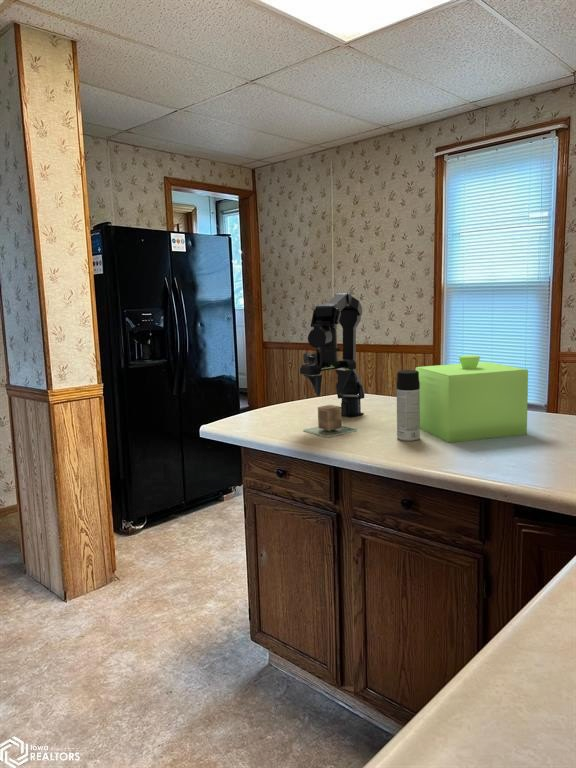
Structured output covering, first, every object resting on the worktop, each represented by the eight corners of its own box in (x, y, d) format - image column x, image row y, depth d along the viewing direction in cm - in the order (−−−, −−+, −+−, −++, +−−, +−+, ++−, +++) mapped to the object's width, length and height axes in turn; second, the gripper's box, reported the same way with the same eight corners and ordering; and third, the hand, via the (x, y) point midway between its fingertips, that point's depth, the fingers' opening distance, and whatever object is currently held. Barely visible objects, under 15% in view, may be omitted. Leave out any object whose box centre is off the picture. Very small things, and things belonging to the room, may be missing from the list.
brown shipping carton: (330, 425, 187) (330, 404, 186) (341, 427, 183) (341, 406, 182) (318, 428, 184) (317, 407, 183) (329, 430, 180) (328, 409, 179)
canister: (448, 443, 164) (448, 362, 160) (416, 427, 184) (415, 355, 181) (526, 434, 169) (528, 356, 166) (486, 420, 190) (487, 350, 186)
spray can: (421, 436, 172) (420, 369, 169) (418, 442, 166) (418, 373, 163) (398, 435, 174) (397, 369, 171) (395, 441, 168) (394, 372, 165)
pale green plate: (332, 424, 192) (331, 404, 191) (356, 430, 182) (356, 409, 181) (303, 431, 185) (302, 409, 184) (327, 437, 175) (326, 415, 174)
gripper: (333, 341, 192) (335, 387, 194) (288, 346, 181) (290, 395, 183) (356, 342, 183) (358, 391, 185) (310, 348, 172) (312, 399, 174)
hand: (329, 394), depth 182 cm, fingers open, 9 cm apart
